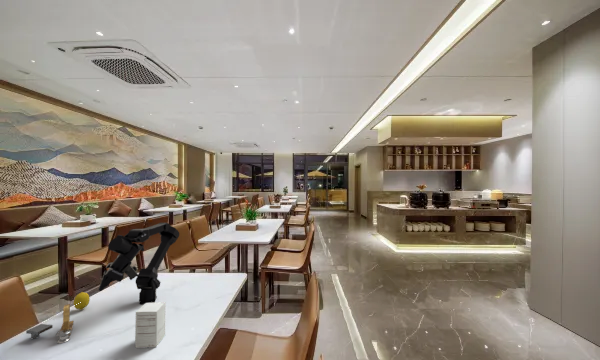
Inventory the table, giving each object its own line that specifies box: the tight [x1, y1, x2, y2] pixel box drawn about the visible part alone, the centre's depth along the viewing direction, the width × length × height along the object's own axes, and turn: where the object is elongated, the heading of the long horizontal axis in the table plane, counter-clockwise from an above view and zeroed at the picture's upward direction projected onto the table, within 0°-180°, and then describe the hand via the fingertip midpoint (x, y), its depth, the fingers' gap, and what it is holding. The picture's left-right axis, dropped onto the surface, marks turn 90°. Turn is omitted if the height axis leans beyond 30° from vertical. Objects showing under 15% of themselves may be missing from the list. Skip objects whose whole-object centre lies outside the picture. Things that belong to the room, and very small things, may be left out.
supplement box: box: [134, 301, 167, 349], centre depth 92 cm, size 7×7×13 cm
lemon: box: [73, 291, 91, 311], centre depth 115 cm, size 6×6×8 cm
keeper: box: [25, 323, 53, 340], centre depth 94 cm, size 5×5×4 cm
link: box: [59, 303, 74, 337], centre depth 97 cm, size 9×3×10 cm, turn 37°
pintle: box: [56, 329, 72, 345], centre depth 92 cm, size 4×4×3 cm
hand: (99, 290), depth 106 cm, fingers closed
